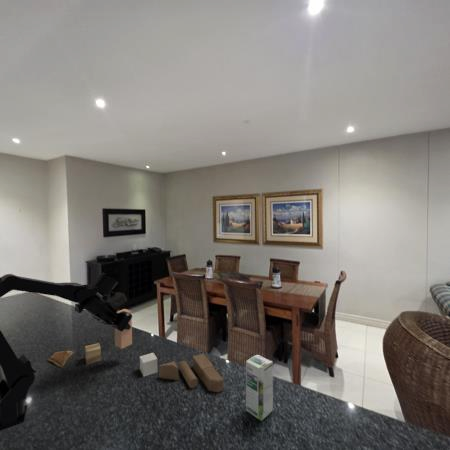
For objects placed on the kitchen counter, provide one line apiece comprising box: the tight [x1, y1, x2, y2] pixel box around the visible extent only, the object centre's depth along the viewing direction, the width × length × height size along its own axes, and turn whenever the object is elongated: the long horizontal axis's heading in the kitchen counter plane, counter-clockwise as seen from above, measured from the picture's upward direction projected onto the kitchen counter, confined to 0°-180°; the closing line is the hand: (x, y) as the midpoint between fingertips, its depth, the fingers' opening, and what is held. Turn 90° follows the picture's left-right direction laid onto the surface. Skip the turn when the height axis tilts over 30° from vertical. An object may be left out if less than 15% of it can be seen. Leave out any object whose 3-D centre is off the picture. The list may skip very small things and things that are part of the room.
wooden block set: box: [158, 353, 224, 393], centre depth 84 cm, size 17×6×18 cm
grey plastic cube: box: [139, 352, 159, 377], centre depth 91 cm, size 5×5×5 cm
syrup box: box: [245, 354, 274, 422], centre depth 71 cm, size 6×6×14 cm
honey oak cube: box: [84, 342, 102, 365], centre depth 99 cm, size 5×5×5 cm
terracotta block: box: [114, 308, 133, 350], centre depth 97 cm, size 4×4×13 cm
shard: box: [47, 350, 74, 368], centre depth 98 cm, size 11×8×2 cm
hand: (126, 326), depth 98 cm, fingers closed on terracotta block, 4 cm apart
